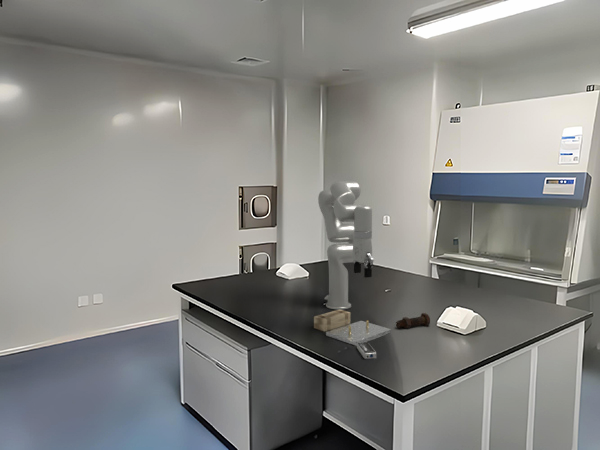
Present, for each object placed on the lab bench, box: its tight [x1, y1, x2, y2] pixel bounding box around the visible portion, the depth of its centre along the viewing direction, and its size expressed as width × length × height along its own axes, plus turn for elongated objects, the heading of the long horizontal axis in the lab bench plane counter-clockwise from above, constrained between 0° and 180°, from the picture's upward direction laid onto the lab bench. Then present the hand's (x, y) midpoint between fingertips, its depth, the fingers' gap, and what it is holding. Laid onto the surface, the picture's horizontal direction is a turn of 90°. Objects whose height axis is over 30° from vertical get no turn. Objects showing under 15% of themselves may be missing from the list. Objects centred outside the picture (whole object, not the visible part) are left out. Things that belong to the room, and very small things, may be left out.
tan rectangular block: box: [313, 309, 351, 333], centre depth 199 cm, size 6×16×5 cm, turn 132°
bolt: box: [395, 312, 431, 330], centre depth 197 cm, size 6×5×15 cm
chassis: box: [325, 319, 392, 347], centre depth 188 cm, size 16×22×4 cm
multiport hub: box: [356, 341, 377, 360], centre depth 168 cm, size 4×11×2 cm, turn 7°
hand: (362, 274), depth 196 cm, fingers open, 9 cm apart
